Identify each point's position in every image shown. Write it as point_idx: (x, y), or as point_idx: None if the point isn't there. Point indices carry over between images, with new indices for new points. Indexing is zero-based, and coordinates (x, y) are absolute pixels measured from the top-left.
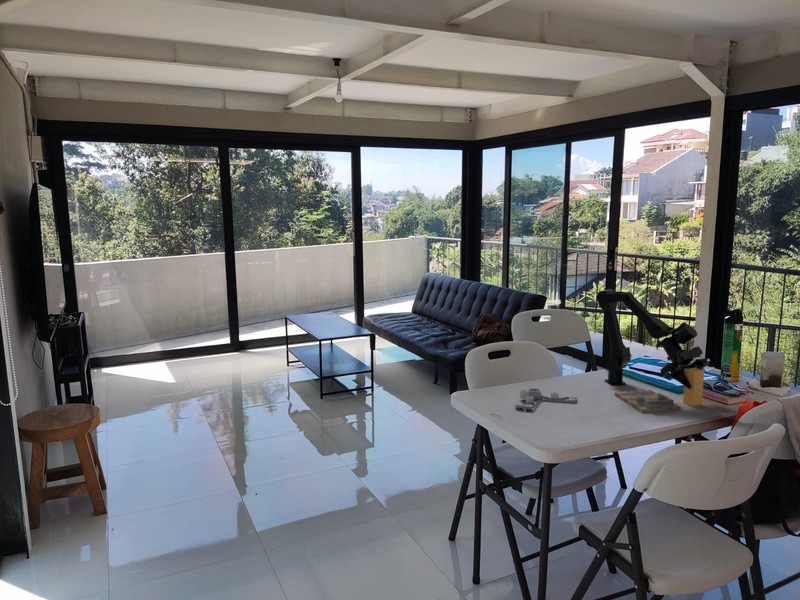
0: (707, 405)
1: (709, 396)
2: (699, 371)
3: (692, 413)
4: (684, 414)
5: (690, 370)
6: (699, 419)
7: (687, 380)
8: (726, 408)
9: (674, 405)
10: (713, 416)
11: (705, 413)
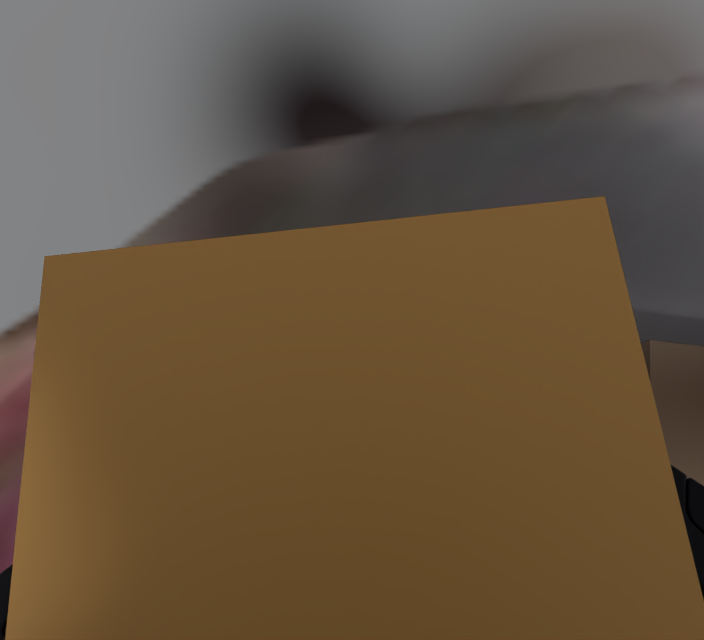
0: None
1: None
2: (313, 230)
3: None
4: (673, 231)
5: (618, 526)
6: (616, 100)
7: None
8: None
9: (702, 393)
10: (448, 124)
11: (461, 197)
